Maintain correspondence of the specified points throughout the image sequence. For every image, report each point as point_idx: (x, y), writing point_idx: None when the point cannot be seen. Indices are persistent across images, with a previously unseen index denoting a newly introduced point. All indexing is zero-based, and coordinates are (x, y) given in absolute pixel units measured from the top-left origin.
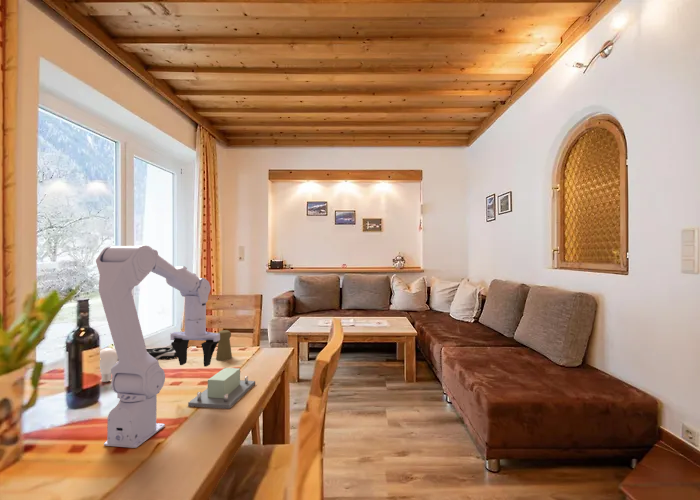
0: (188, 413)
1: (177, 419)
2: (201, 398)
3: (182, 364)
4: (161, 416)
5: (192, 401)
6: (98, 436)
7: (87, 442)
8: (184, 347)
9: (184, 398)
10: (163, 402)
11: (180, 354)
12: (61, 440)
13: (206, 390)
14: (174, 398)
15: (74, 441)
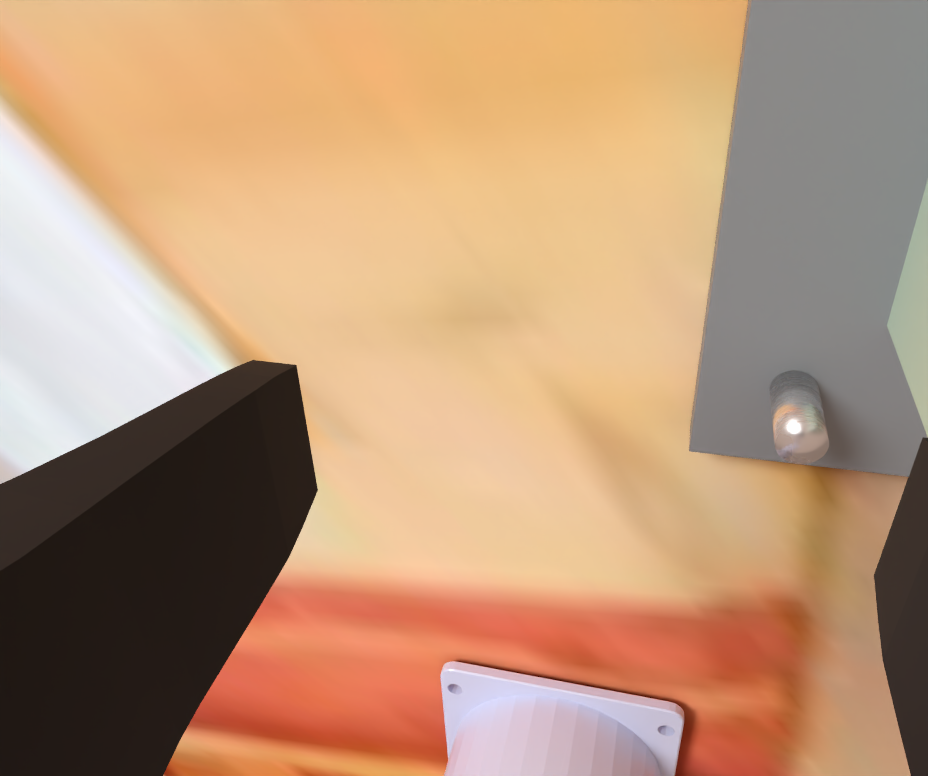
0: (772, 550)
1: (722, 627)
2: (808, 355)
3: (311, 485)
4: (550, 577)
5: (726, 427)
6: (346, 732)
7: (346, 766)
8: (24, 732)
9: (529, 249)
10: (369, 350)
11: (184, 715)
12: (206, 735)
13: (770, 99)
14: (411, 256)
15: (275, 750)
